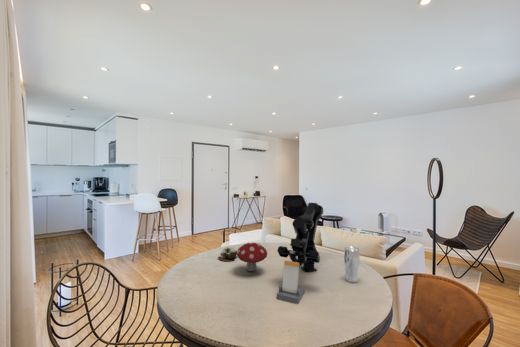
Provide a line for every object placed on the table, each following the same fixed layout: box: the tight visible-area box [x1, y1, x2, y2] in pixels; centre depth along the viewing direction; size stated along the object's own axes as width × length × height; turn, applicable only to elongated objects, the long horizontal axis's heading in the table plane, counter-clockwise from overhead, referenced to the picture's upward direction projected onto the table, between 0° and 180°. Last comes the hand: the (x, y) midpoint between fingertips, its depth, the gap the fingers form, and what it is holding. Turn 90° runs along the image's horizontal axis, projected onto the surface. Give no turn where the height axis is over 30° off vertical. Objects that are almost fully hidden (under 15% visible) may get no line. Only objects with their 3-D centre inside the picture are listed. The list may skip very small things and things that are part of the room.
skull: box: [217, 245, 239, 263], centre depth 144 cm, size 12×10×10 cm
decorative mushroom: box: [236, 242, 268, 272], centre depth 125 cm, size 16×16×15 cm
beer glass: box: [343, 246, 360, 284], centre depth 116 cm, size 7×7×15 cm
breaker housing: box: [276, 284, 306, 305], centre depth 101 cm, size 10×9×4 cm
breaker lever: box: [281, 260, 300, 294], centre depth 100 cm, size 2×6×12 cm, turn 65°
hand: (294, 272), depth 105 cm, fingers closed
